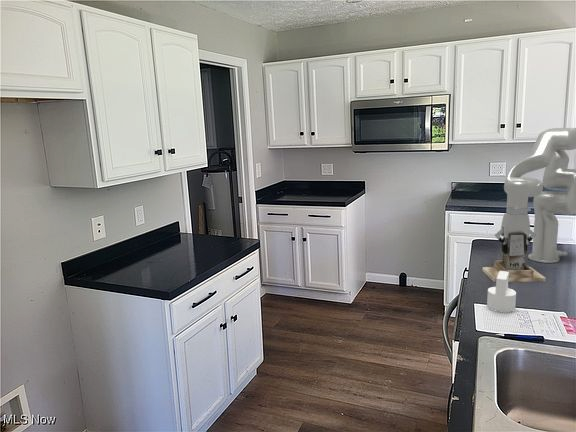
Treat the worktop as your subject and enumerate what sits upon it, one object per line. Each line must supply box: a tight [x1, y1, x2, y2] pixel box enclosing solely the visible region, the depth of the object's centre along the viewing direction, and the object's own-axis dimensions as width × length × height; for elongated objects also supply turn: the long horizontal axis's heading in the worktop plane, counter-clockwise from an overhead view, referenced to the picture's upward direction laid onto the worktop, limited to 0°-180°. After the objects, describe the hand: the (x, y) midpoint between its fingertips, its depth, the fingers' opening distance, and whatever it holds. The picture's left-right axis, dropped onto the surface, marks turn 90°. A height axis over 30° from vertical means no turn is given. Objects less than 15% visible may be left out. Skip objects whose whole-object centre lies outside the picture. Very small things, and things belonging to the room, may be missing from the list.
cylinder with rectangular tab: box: [486, 271, 517, 313], centre depth 154 cm, size 9×9×12 cm
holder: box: [481, 260, 546, 283], centre depth 184 cm, size 20×14×4 cm
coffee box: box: [502, 233, 527, 270], centre depth 183 cm, size 9×6×16 cm
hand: (514, 252), depth 183 cm, fingers closed on coffee box, 6 cm apart
